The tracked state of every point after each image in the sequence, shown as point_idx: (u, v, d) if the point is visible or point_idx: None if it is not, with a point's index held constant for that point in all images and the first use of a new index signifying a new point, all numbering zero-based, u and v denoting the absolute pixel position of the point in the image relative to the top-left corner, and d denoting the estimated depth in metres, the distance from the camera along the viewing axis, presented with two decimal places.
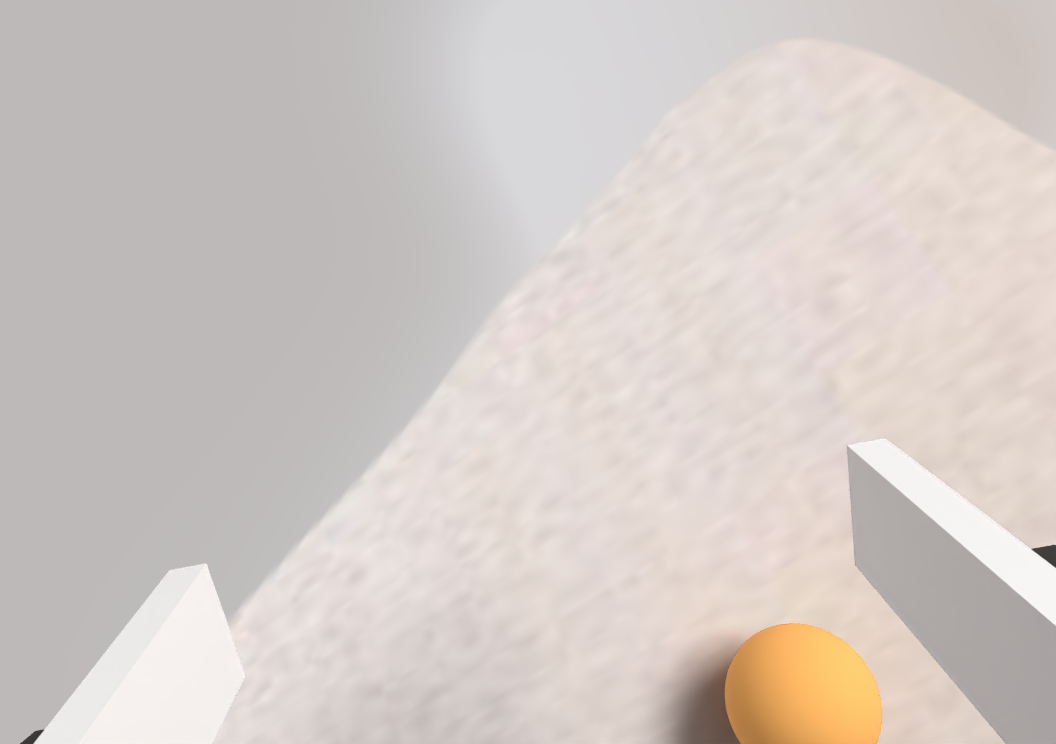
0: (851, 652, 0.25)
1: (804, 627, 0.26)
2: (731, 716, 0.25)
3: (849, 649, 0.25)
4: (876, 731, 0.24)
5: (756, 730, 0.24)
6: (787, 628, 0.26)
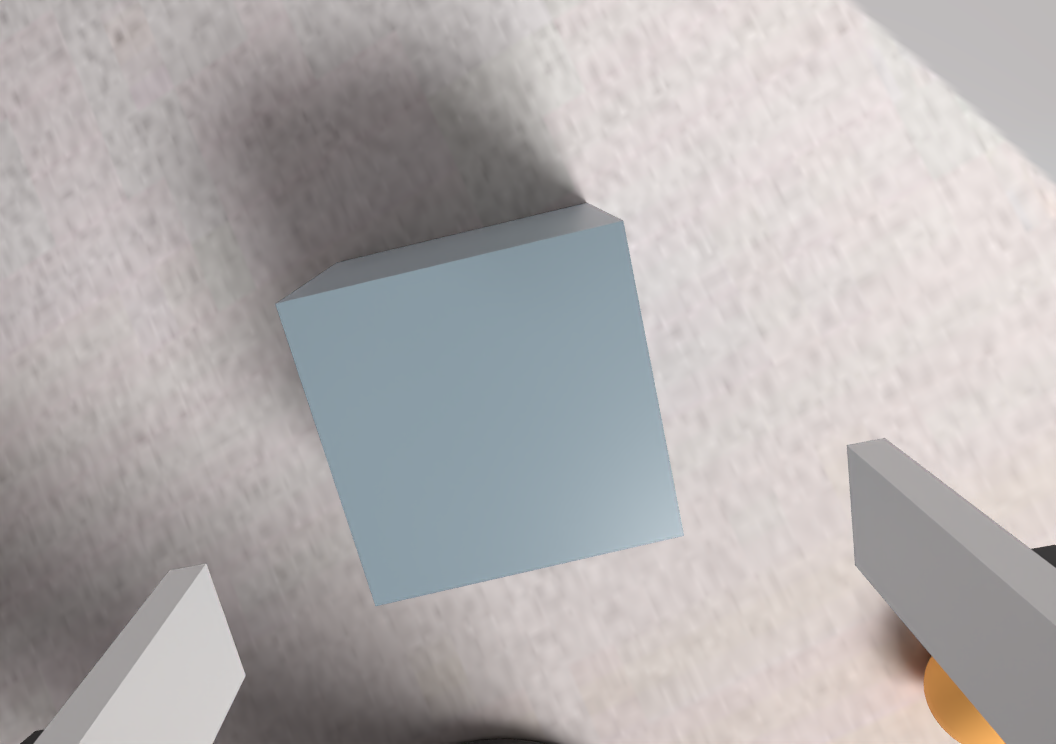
0: None
1: None
2: None
3: None
4: None
5: None
6: None
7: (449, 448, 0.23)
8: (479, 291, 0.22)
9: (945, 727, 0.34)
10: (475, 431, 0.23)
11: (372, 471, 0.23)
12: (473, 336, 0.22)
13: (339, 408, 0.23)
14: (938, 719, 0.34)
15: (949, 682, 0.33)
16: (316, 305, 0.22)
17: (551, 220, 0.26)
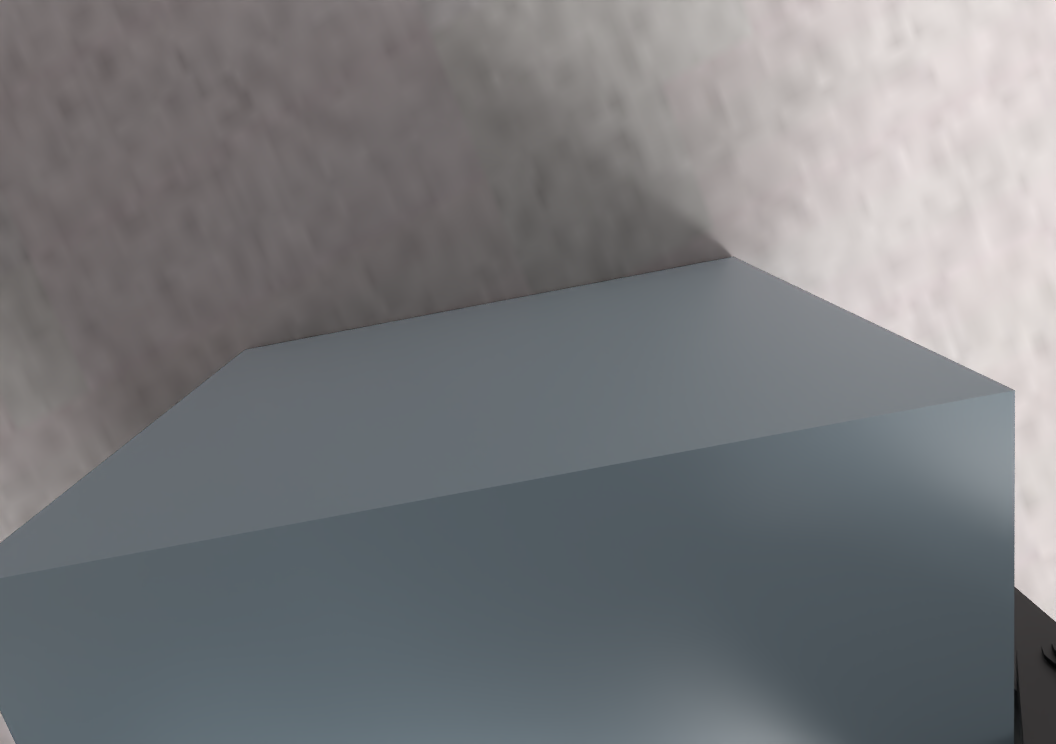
0: None
1: None
2: None
3: None
4: None
5: None
6: None
7: None
8: (558, 571, 0.07)
9: None
10: None
11: None
12: (531, 687, 0.08)
13: None
14: None
15: None
16: (68, 597, 0.07)
17: (695, 310, 0.12)
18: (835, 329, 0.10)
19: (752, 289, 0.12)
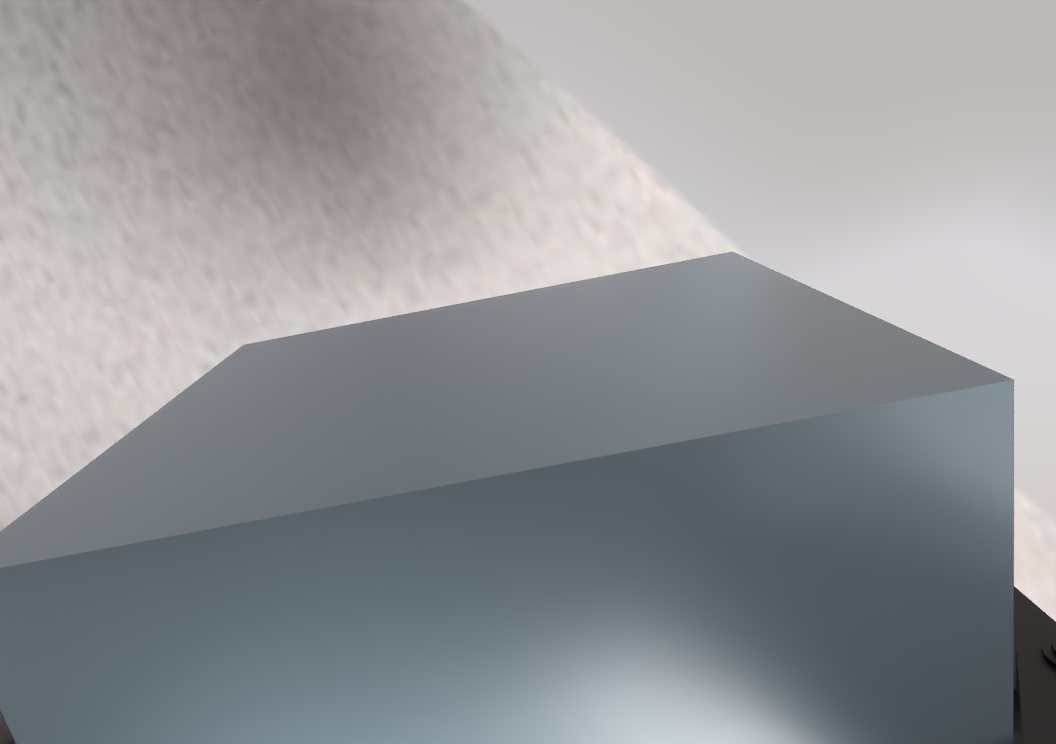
0: None
1: None
2: None
3: None
4: None
5: None
6: None
7: None
8: (556, 562, 0.07)
9: None
10: None
11: None
12: (529, 679, 0.08)
13: None
14: None
15: None
16: (64, 588, 0.07)
17: (694, 304, 0.12)
18: (834, 321, 0.10)
19: (751, 283, 0.12)
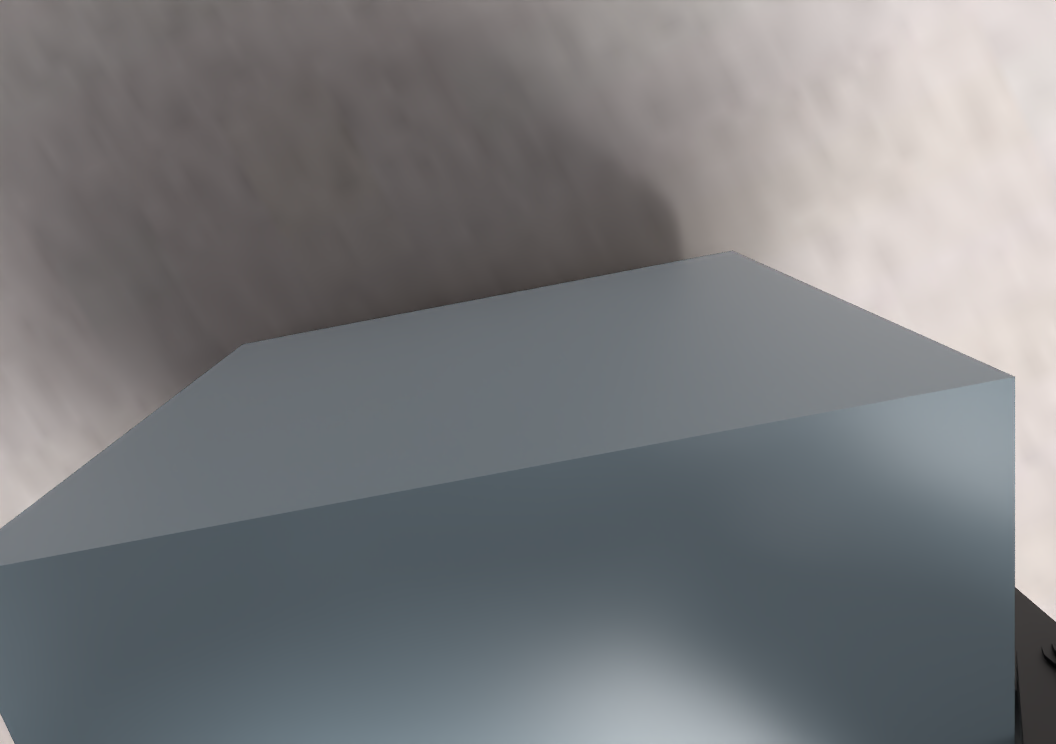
0: None
1: None
2: None
3: None
4: None
5: None
6: None
7: None
8: (556, 560, 0.07)
9: None
10: None
11: None
12: (529, 677, 0.08)
13: None
14: None
15: None
16: (62, 586, 0.07)
17: (694, 302, 0.12)
18: (834, 319, 0.10)
19: (751, 282, 0.12)
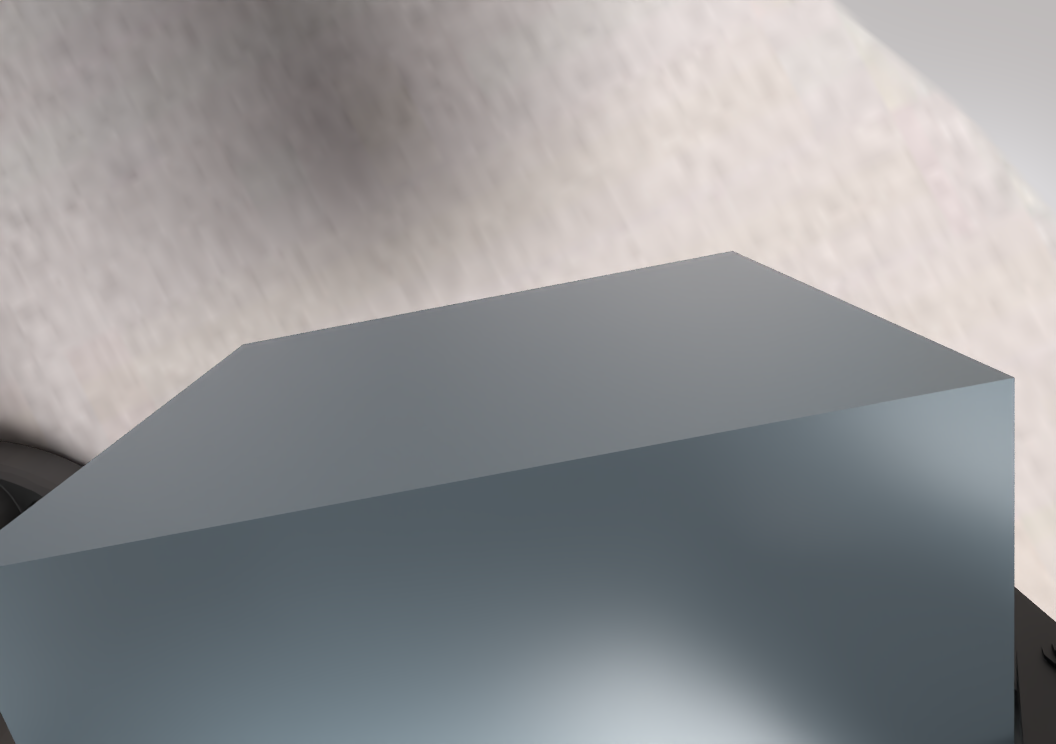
0: None
1: None
2: None
3: None
4: None
5: None
6: None
7: None
8: (556, 561, 0.07)
9: None
10: None
11: None
12: (529, 677, 0.08)
13: None
14: None
15: None
16: (63, 586, 0.07)
17: (694, 303, 0.12)
18: (834, 320, 0.10)
19: (751, 282, 0.12)
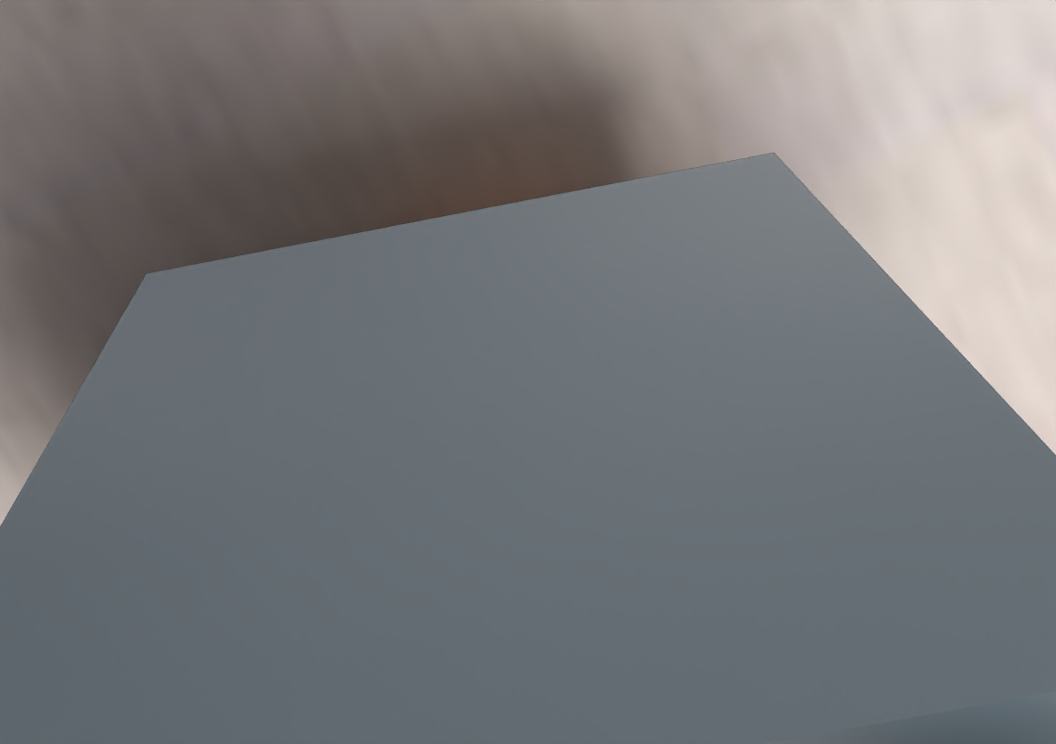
0: None
1: None
2: None
3: None
4: None
5: None
6: None
7: None
8: None
9: None
10: None
11: None
12: None
13: None
14: None
15: None
16: None
17: (744, 299, 0.09)
18: (949, 402, 0.07)
19: (814, 254, 0.10)
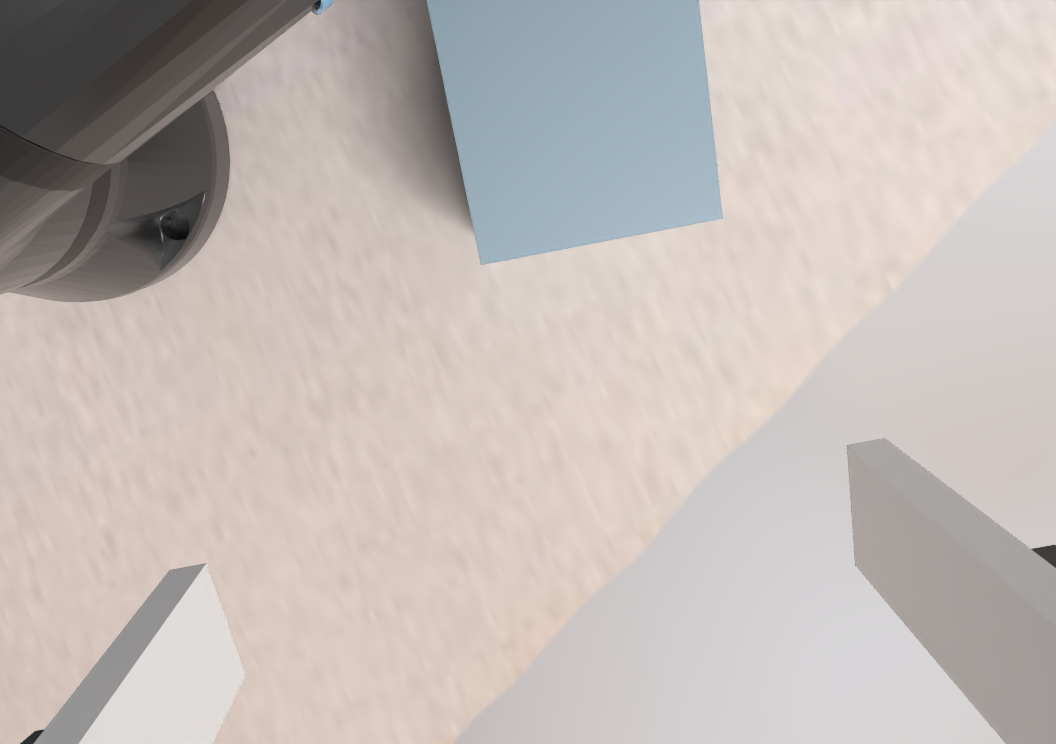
0: None
1: None
2: None
3: None
4: None
5: None
6: None
7: (548, 131, 0.30)
8: None
9: None
10: (569, 118, 0.30)
11: (487, 147, 0.30)
12: (573, 36, 0.29)
13: (467, 91, 0.30)
14: None
15: None
16: (457, 3, 0.29)
17: None
18: None
19: None
